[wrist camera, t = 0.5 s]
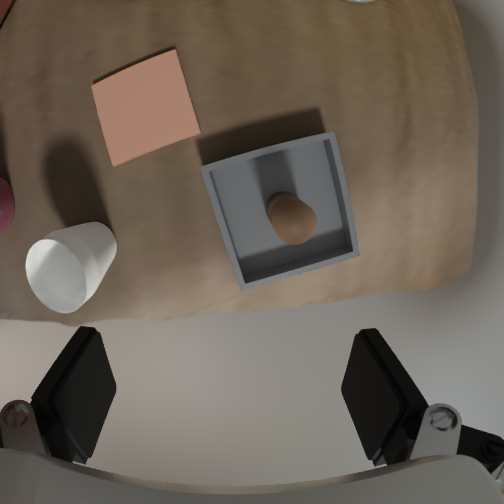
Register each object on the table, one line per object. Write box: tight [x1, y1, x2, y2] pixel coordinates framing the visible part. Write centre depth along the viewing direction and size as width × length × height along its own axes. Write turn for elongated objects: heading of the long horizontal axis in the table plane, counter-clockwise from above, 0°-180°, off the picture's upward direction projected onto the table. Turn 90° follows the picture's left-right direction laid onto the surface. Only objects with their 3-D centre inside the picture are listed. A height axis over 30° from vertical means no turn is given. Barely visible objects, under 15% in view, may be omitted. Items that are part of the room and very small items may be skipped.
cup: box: [26, 222, 117, 313], centre depth 32 cm, size 9×9×12 cm
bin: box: [200, 131, 360, 291], centre depth 36 cm, size 16×16×4 cm
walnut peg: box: [266, 191, 317, 245], centre depth 33 cm, size 4×4×8 cm
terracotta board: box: [92, 49, 201, 166], centre depth 32 cm, size 12×12×1 cm
